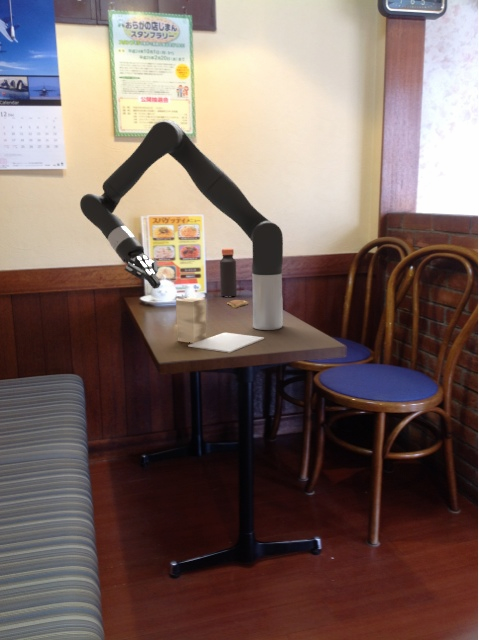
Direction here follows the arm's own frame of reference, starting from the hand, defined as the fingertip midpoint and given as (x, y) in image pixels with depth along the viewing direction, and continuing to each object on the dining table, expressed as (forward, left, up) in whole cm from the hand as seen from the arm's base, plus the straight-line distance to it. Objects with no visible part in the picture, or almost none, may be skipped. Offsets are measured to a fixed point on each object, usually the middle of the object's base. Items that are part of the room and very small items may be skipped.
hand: (157, 286), depth 171 cm
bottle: (-71, -23, -15) cm, 76 cm away
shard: (-55, -7, -16) cm, 57 cm away
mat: (-2, +23, -15) cm, 28 cm away
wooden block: (0, +12, -15) cm, 19 cm away
